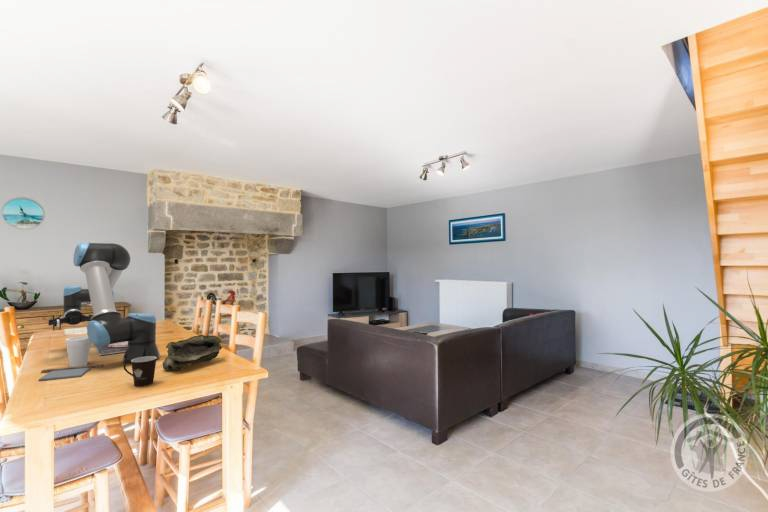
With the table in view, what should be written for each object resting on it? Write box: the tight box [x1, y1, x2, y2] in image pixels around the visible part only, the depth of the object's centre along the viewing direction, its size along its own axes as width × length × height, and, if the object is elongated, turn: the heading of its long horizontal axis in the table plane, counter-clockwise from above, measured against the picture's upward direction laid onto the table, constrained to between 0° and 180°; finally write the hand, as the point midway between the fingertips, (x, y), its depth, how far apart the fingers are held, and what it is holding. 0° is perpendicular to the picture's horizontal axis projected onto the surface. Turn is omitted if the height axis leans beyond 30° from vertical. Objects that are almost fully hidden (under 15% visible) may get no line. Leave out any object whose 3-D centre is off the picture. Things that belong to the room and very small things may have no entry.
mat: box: [38, 367, 92, 382], centre depth 158 cm, size 14×12×1 cm
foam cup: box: [65, 335, 92, 367], centre depth 172 cm, size 10×9×13 cm
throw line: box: [40, 363, 104, 374], centre depth 166 cm, size 22×2×1 cm, turn 113°
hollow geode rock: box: [162, 334, 223, 372], centre depth 175 cm, size 28×13×15 cm
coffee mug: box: [123, 356, 157, 388], centre depth 148 cm, size 12×9×10 cm
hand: (76, 322), depth 179 cm, fingers open, 13 cm apart
